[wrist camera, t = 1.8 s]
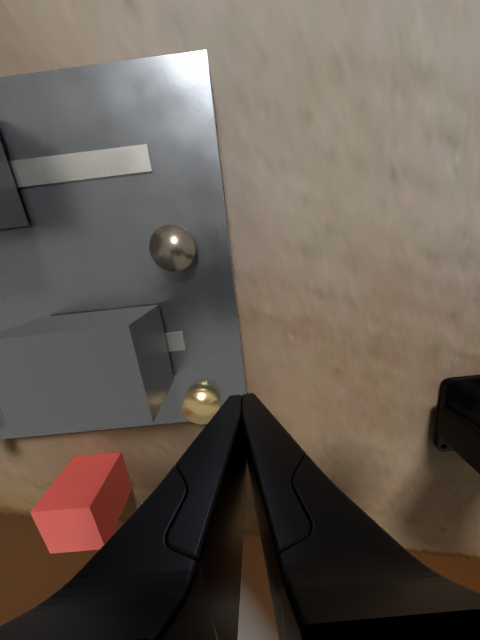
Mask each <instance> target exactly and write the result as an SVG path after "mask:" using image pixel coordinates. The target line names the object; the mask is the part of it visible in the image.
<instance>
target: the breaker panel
mask: <svg viewBox="0 0 480 640" xmlns="http://www.w3.org/2000/svg"><path fill="white" fill-rule="evenodd" d="M0 140H1V143H2V146H3V149H4V152H5V155H6V158H7V161H8V164H9V167H10V170H11V173H12V176H13V179H14V182H15V185H16V188H17V191H18V194H19V197H20V200H21V203H22V206H23V209H24V212H25V215H26V218H27V221H28V224H29V226H22V227H14V228H5V229H0V332H1V331H4V330H7V329H10V328H13V327H15V326H18V325H21V324H24V323H27V322H30V321H33V320H36V319H39V318H42V317H49V316H58V315H67V314H77V313H86V312H95V311H105V310H114V309H123V308H132V307H142V306H151V305H159V309H160V314H161V318H162V323H163V328H164V333H165V338H166V342H167V347H168V352H169V357H170V362H171V366H172V371H173V376H174V382H173V384H172V386H171V388H170V390H169V392H168V394H167V396H166V398H165V400H164V402H163V404H162V406H161V408H160V410H159V412H158V414H157V416H156V418H155V420H154V422H153V423H147V424H137V425H126V426H116V427H105V428H95V429H84V430H74V431H63V432H53V433H42V434H32V435H21V436H13V435H12V433H11V431H10V428H9V426H8V424H7V422H6V420H5V417H4V415H3V413H2V411H1V409H0V439H10V438H21V437H31V436H42V435H52V434H63V433H73V432H84V431H94V430H105V429H115V428H126V427H136V426H147V425H157V424H168V423H178V422H189V421H191V422H193V423H195V424H208V423H209V421H210V420H211V419H212V417H213V416H214V415H215V414H216V412H217V411H218V410H219V409H220V407H221V406H222V405H223V404H224V402H225V401H226V400H227V398H228V397H229V396H230V395H241V396H242V395H243V394H247V388H246V380H245V371H244V362H243V353H242V344H241V336H240V327H239V318H238V309H237V301H236V292H235V283H234V274H233V265H232V257H231V248H230V239H229V230H228V222H227V213H226V204H225V195H224V186H223V178H222V169H221V160H220V151H219V143H218V134H217V125H216V116H215V108H214V99H213V90H212V81H211V74H210V68H209V62H208V56H207V50H200V51H193V52H185V53H178V54H170V55H163V56H155V57H148V58H140V59H133V60H125V61H118V62H110V63H103V64H95V65H88V66H80V67H73V68H65V69H58V70H50V71H43V72H35V73H28V74H20V75H13V76H5V77H0Z"/></svg>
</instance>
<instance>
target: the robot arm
mask: <svg viewBox="0 0 480 640" xmlns="http://www.w3.org/2000/svg"><path fill="white" fill-rule="evenodd" d="M434 446H435V447H436V448H437V449H438V450H439V451H455V452H456V453H458V454H459V455H460V456H461V457H462V458H463V459H464V460H465V461H466V462H467V463H468V464H469V465H470V466H472V467H473V468H474V469H475V470H476V471H477V472H478V473H479V474H480V375H473V376H463V377H452V378H448V379H446V380H445V381H444V382H443V386H442V392H441V399H440V406H439V412H438V419H437V426H436V433H435V439H434ZM247 462H248V469H249V475H250V481H251V486H252V492H253V498H254V503H255V509H256V514H257V520H258V525H259V531H260V536H261V542H262V547H263V552H264V558H265V564H266V569H267V575H268V581H269V586H270V591H271V597H272V603H273V608H274V614H275V620H276V625H277V631H278V636H279V640H480V593H478V592H475V591H473V590H471V589H469V588H467V587H464V586H462V585H460V584H458V583H455V582H453V581H451V580H449V579H447V578H445V577H443V576H442V575H440V574H438V573H436V572H435V571H433V570H432V569H430V568H429V567H427V566H426V565H424V564H423V563H422V562H420V561H419V560H418V559H416V558H415V557H414V556H413V555H411V554H410V553H409V552H408V551H407V550H405V549H404V548H403V547H402V546H401V545H400V544H399V543H398V542H396V541H395V540H394V539H393V538H392V537H391V536H390V535H389V534H388V533H387V532H386V531H384V530H383V529H382V528H381V527H380V526H379V525H378V524H377V523H376V522H375V521H374V520H373V519H371V518H370V517H369V516H368V515H367V514H366V513H365V512H364V511H363V510H362V509H361V508H359V507H358V506H357V505H356V504H355V503H354V502H353V501H352V500H351V499H350V498H349V497H348V496H346V495H345V494H344V493H343V492H342V491H341V490H340V489H339V488H338V487H337V486H336V485H335V484H334V483H333V482H332V481H331V480H330V479H329V478H328V477H327V476H326V475H325V474H324V473H323V472H322V471H321V469H320V468H319V467H318V466H317V465H316V464H315V463H314V462H313V461H312V459H311V458H310V457H309V456H308V455H306V453H305V451H304V450H303V449H302V448H301V447H300V446H299V445H298V443H297V442H296V441H295V440H294V439H293V438H292V437H291V435H290V434H289V433H288V432H287V431H286V430H285V429H284V427H283V426H282V425H281V424H280V423H279V422H278V420H277V419H276V418H275V417H274V416H273V415H272V414H271V412H270V411H269V410H268V409H267V408H266V407H265V406H264V404H263V403H262V402H261V401H260V400H259V399H258V397H257V396H256V395H255V394H253V393H250V394H243V395H242V396H241V395H230V396H229V397H228V398H227V400H226V401H225V402H224V404H223V405H222V406H221V407H220V409H219V410H218V411H217V412H216V414H215V415H214V416H213V417H212V419H211V420H210V421H209V423H208V424H207V425H206V426H205V428H204V429H203V430H202V431H201V433H200V434H199V435H198V437H197V438H196V439H195V440H194V442H193V443H192V444H191V445H190V447H189V448H188V449H187V450H186V452H185V453H184V454H183V456H182V457H181V458H180V459H179V461H178V462H177V463H176V466H174V467H173V468H172V469H171V471H170V472H169V473H168V474H167V476H166V477H165V478H164V479H163V481H162V482H161V483H160V484H159V485H158V487H157V488H156V489H155V490H154V491H153V493H152V494H151V495H150V496H149V497H148V498H147V499H146V500H145V502H144V503H143V504H142V505H141V506H140V507H139V508H138V509H137V510H136V511H135V513H134V514H133V515H132V516H131V517H130V518H129V519H128V520H127V521H126V522H125V523H124V524H123V525H122V526H121V527H120V529H119V530H118V531H117V532H116V533H115V534H114V535H113V536H112V537H111V538H110V539H109V540H108V541H107V542H106V543H105V544H104V545H103V546H102V548H101V549H100V550H99V551H98V552H97V553H96V554H95V555H94V556H93V557H92V558H91V559H90V560H89V561H88V562H87V563H86V564H85V566H84V567H83V568H82V569H81V570H80V571H79V572H78V573H77V574H76V575H75V576H74V577H73V578H72V579H71V580H70V581H69V582H67V583H66V584H65V585H64V586H63V587H62V588H61V589H59V590H58V591H57V592H56V593H54V594H53V595H52V596H50V597H49V598H48V599H47V600H45V601H44V602H42V603H41V604H39V605H37V606H36V607H34V608H33V609H31V610H29V611H27V612H26V613H24V614H22V615H20V616H18V617H16V618H14V619H12V620H10V621H9V622H7V623H5V624H3V625H1V626H0V640H237V635H238V618H239V601H240V585H241V568H242V550H243V534H244V517H245V500H246V483H247Z"/></svg>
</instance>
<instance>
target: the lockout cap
mask: <svg viewBox="0 0 480 640" xmlns="http://www.w3.org/2000/svg"><path fill="white" fill-rule="evenodd" d="M131 491H132V485H131V482H130V479H129V476H128V472H127V469H126V466H125V463H124V460H123V456H122V453H121V452H118V453H107V454H97V455H86V456H75V457H74V458H73V459H72V460H71V462H70V463H69V464H68V465H67V467H66V468H65V469H64V470H63V472H62V473H61V474H60V475H59V477H58V478H57V479H56V480H55V482H54V483H53V484H52V486H51V487H50V488H49V489H48V491H47V492H46V493H45V494H44V496H43V497H42V498H41V499H40V501H39V502H38V503H37V504H36V506H35V507H34V508H33V510H32V511H31V512H30V513H31V515H32V517H33V519H34V521H35V523H36V525H37V527H38V529H39V531H40V533H41V535H42V538H43V540H44V541H45V544H46V546H47V548H48V550H49V552H50V553H62V552H74V551H85V550H97V549H101V548H102V546H103V545H104V544H105V543H106V542H107V541H108V540H109V539H110V538H111V536H112V533H113V531H114V529H115V527H116V524H117V522H118V520H119V518H120V515H121V513H122V511H123V509H124V506H125V504H126V502H127V500H128V497H129V495H130V493H131Z"/></svg>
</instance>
